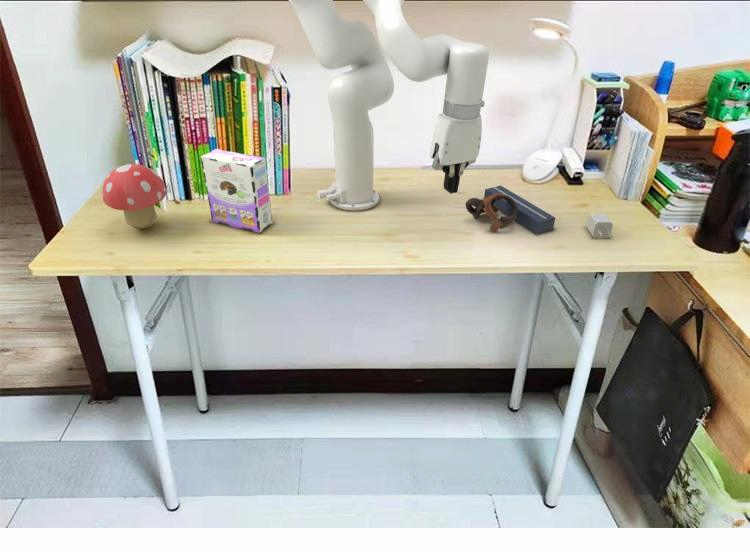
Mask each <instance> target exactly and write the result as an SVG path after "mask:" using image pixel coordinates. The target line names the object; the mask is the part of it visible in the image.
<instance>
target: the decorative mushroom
mask: <svg viewBox="0 0 750 552" xmlns="http://www.w3.org/2000/svg"><path fill="white" fill-rule="evenodd" d="M167 192H168V191H167V187H166V184H165V182H164V180H163V179H162V177H161V176H160V175H159V174H158V173H157V172H156V171H155V170H153V169H152V168H150V167H147V166H145V165H142V164H136V163H128V164H124V165H121V166H119V167H117V168H115V169H114V170H112V171H111V172H110V173H109V174H108V175H107V177H105V179H104V182H103V185H102V191H101V194H102V202H103V203H104V204H105V205H106V206H107V207H109V208H111V209H113V210H118V211H123V215H124V220H125V224H127V225H129V226H130V227H132V228H135V229H140V230H145V229H147V228H149V227H150V226H152V225H153V224H154V223H155V221H156V220H157V218H158V217H157V213H156V209H155V205H158V203H160V202H161V201H163V200H164V199H165V197H166V196H167V194H168V193H167Z"/></svg>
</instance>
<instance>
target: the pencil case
mask: <svg viewBox="0 0 750 552" xmlns="http://www.w3.org/2000/svg"><path fill="white" fill-rule="evenodd" d="M494 194H504V195H507V196H509V197H511V198H512V199H513V200H514V201H515V203H516V205H517V215H516V219H515V220H514V222H517V223H518V224H520V225H521V226H523V227H524V228H526V229H527V230H529V231H530V232H532V233H534V234H535V235H540V234H544V233H547V232H550V231H553V230H554V227H555V223H556V217H555V216H553V215H552V214H550V213H549V212H547V211H545V210H544V209H541V208H540V207H539V206H537V205H535V204H533V203H532V202H530V201H528V200H527V199H525V198H524V197H521V196H519V195H518V194H516V193H514V192H513V191H511V190H509V189H508V188H506V187H504V186H502V185H497V186H493V187H489V188H485V189H484V196H483V199H485V198H486V197H489V196H492V195H494ZM493 205H495V206H496V207H499V208H500V209H499V211H498V212H501V213H502V214H504V215H505V216H510V215H512V214H513V207H512V206H511V205H510V204H508V203H507V201H506V200H504V199H500V200H496V201H495V203H494V204H493Z"/></svg>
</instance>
